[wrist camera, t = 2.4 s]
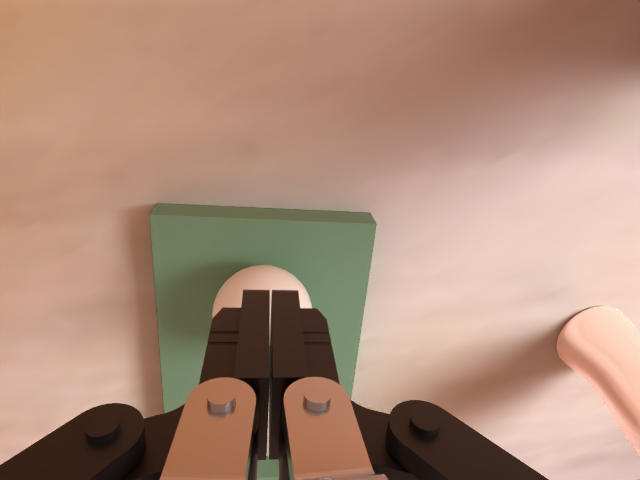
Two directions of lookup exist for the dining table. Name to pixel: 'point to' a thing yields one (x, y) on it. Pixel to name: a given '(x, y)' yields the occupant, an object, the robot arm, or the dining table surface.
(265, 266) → the ball
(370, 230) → the putting mat
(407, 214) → the dining table surface
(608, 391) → the beer glass
